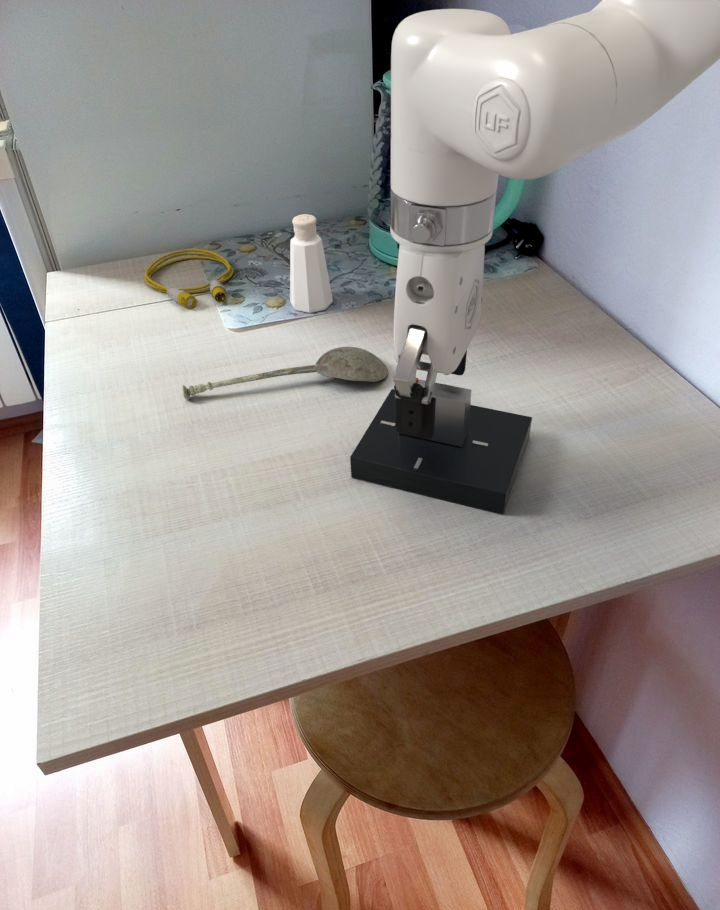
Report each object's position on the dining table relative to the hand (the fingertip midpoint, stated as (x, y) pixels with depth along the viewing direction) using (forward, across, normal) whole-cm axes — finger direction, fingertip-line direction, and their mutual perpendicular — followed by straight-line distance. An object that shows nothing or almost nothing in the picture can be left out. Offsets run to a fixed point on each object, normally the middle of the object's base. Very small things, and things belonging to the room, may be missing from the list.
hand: (431, 401), depth 62 cm
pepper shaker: (+7, +23, +23) cm, 33 cm away
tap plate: (+6, 0, -1) cm, 6 cm away
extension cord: (+7, +23, +41) cm, 47 cm away
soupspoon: (+7, +6, +18) cm, 20 cm away
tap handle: (+4, 0, 0) cm, 4 cm away
